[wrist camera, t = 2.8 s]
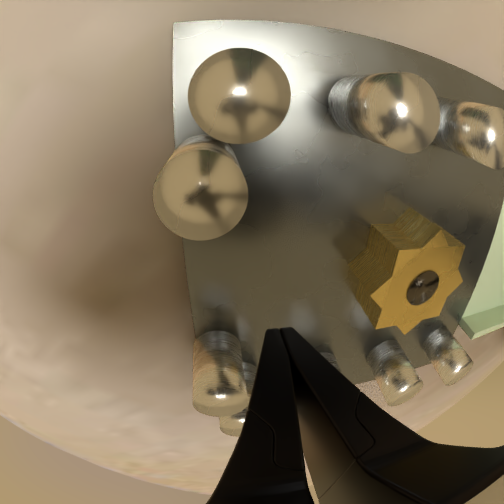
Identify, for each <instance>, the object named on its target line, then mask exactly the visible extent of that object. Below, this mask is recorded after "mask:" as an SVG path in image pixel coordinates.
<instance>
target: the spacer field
mask: <svg viewBox="0 0 504 504" xmlns="http://www.w3.org/2000/svg"><path fill="white" fill-rule="evenodd" d="M173 113H174V138H175V152H174V153H173V154H172V156H171V157H170V158H169V160H168V161H167V162H166V164H165V165H164V166H163V168H162V169H161V171H160V172H159V174H158V176H157V178H156V180H155V183H154V187H153V204H154V208H155V211H156V213H157V215H158V217H159V219H160V220H161V222H162V223H163V224H164V225H165V226H166V227H167V228H168V229H169V230H170V231H172V232H173V233H174V234H176V235H178V236H180V237H182V240H183V249H184V258H185V266H186V274H187V282H188V289H189V297H190V304H191V311H192V317H193V324H194V330H195V336H196V340H195V342H194V346H193V406H194V408H195V409H196V410H197V411H199V412H200V413H203V414H205V415H209V416H217V417H219V419H220V429H221V431H222V432H223V433H225V434H227V435H230V436H240V433H241V430H242V427H243V423H244V420H245V416H246V412H247V408H248V404H249V400H250V396H251V392H252V388H253V384H254V380H255V375H256V371H257V367H258V363H259V358H260V354H261V350H262V345H263V341H264V337H265V332H266V330H267V329H272V328H278V329H280V328H283V327H293V328H294V329H295V330H296V331H297V332H298V333H299V334H300V335H301V336H302V337H303V338H305V339H306V340H307V341H308V342H309V343H310V344H311V345H312V346H313V347H314V348H315V349H316V350H317V351H318V352H319V353H320V354H321V355H323V356H324V357H325V358H326V359H327V360H328V361H329V362H330V363H331V364H332V365H333V366H334V367H335V368H337V369H338V370H339V371H340V372H341V373H342V374H343V375H344V376H345V377H346V378H347V379H348V380H350V381H351V382H352V383H353V384H359V383H363V382H367V381H371V380H375V379H376V381H377V383H378V385H379V387H380V389H381V391H382V393H383V395H384V397H385V399H386V401H387V404H388V405H389V406H396V405H399V404H402V403H404V402H406V401H408V400H409V399H411V398H412V397H414V396H415V395H416V394H417V393H418V392H419V391H420V390H421V388H422V386H423V382H422V380H421V378H420V377H419V375H418V373H417V372H416V370H415V368H418V367H421V366H424V365H427V364H431V363H432V365H433V366H434V368H435V369H436V371H437V372H438V374H439V376H440V377H441V379H442V380H443V382H444V383H445V385H446V386H449V385H452V384H454V383H456V382H457V381H459V380H460V379H461V378H463V377H464V376H465V375H466V374H467V373H468V371H469V370H470V369H471V367H472V365H473V361H472V360H471V358H470V357H469V356H468V354H467V353H466V352H465V350H464V349H463V348H462V346H461V345H460V344H459V342H458V341H457V340H456V338H455V337H454V336H453V334H454V332H455V330H456V328H457V326H458V324H459V322H460V320H461V318H462V316H463V314H464V312H465V310H466V307H467V305H468V303H469V301H470V299H471V296H472V294H473V292H474V289H475V287H476V284H477V282H478V279H479V277H480V274H481V272H482V269H483V266H484V264H485V261H486V258H487V255H488V253H489V250H490V247H491V244H492V240H493V237H494V234H495V231H496V227H497V224H498V220H499V217H500V213H501V209H502V205H503V201H504V90H502V89H500V88H498V87H497V86H495V85H493V84H491V83H489V82H487V81H485V80H483V79H482V78H480V77H478V76H476V75H474V74H471V73H469V72H467V71H465V70H463V69H461V68H459V67H456V66H454V65H452V64H449V63H447V62H445V61H442V60H440V59H437V58H435V57H432V56H429V55H427V54H424V53H421V52H418V51H416V50H413V49H410V48H407V47H404V46H400V45H397V44H394V43H391V42H387V41H384V40H380V39H376V38H372V37H368V36H364V35H360V34H356V33H351V32H346V31H341V30H336V29H331V28H325V27H318V26H312V25H304V24H296V23H287V22H275V21H259V20H203V21H187V22H176V23H173ZM409 207H410V208H412V209H413V210H415V211H416V212H418V213H419V214H421V215H422V216H423V217H425V218H426V219H428V220H429V221H430V222H432V223H436V224H437V225H439V226H440V227H442V228H443V229H444V230H446V231H447V232H448V233H450V234H451V235H452V236H454V237H455V238H456V239H457V240H459V241H460V242H461V243H463V244H464V245H465V249H464V252H463V255H462V258H461V261H460V264H459V267H458V270H459V272H460V275H461V277H462V280H463V282H462V283H461V284H460V285H459V286H458V287H457V288H456V289H455V290H454V291H453V292H452V293H451V294H450V295H449V296H448V297H447V298H446V301H445V303H444V305H443V308H442V310H441V312H440V315H439V316H436V317H432V318H428V319H424V320H422V321H421V322H419V323H418V324H417V325H416V326H415V327H414V328H412V329H411V330H410V331H409V332H408V333H406V334H405V335H404V334H403V333H402V331H401V330H400V329H399V328H398V327H397V326H391V327H386V328H380V329H375V328H374V327H373V325H372V323H371V322H370V320H369V318H368V317H367V315H366V314H365V312H364V310H363V309H362V307H361V306H360V304H359V303H358V301H357V299H356V298H355V297H356V293H357V289H358V285H359V279H358V278H357V277H356V275H355V274H354V272H353V271H352V270H351V268H350V267H349V266H348V264H349V263H350V262H351V261H353V260H354V259H355V258H356V257H357V256H358V255H359V254H360V253H362V252H363V251H364V250H365V249H366V248H367V244H368V239H369V234H370V228H371V224H393V223H394V222H395V221H396V220H397V219H398V218H399V217H400V216H401V215H402V214H403V213H404V212H405V211H406V210H407V209H408V208H409Z"/></svg>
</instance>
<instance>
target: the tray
mask: <svg viewBox="0 0 504 504" xmlns="http://www.w3.org/2000/svg"><path fill="white" fill-rule="evenodd" d="M459 325H460V326H461V328H462V329H463V330H464V331H465V333H466V334H467V335H468V336H469V337H470V339H471V340H472V339H475V338H477V337H480V336H482V335H485V334H487V333H490V332H492V331H495V330H497V329H499V328H502V327H504V201H503V205H502V209H501V213H500V217H499V220H498V224H497V227H496V231H495V234H494V237H493V240H492V244H491V247H490V250H489V253H488V255H487V258H486V261H485V264H484V266H483V269H482V272H481V274H480V277H479V279H478V282H477V284H476V287H475V289H474V292H473V294H472V296H471V299H470V301H469V303H468V305H467V307H466V310H465V312H464V314H463V316H462V318H461V320H460V322H459Z"/></svg>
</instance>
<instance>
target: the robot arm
mask: <svg viewBox="0 0 504 504" xmlns="http://www.w3.org/2000/svg"><path fill="white" fill-rule="evenodd" d="M303 453H304V455H303ZM304 456H305V460H306V463H307V466H308V469H309V472H310V475H311V479H312V482H313V485H314V488H315V491H316V494H317V497H318V499H319V504H504V445H503V446H500V447H496V448H478V447H464V446H453V445H444V444H438V443H434V442H431V441H429V440H427V439H425V438H423V437H421V436H420V435H418V434H417V433H415V432H414V431H412V430H411V429H409V428H408V427H406V426H405V425H403V424H402V423H401V422H399V421H398V420H396V419H395V418H393V417H392V416H391V415H389V414H388V413H387V412H385V411H384V410H383V409H381V408H380V407H379V406H378V405H376V404H375V403H374V402H373V401H372V400H371V399H369V398H368V397H367V396H366V395H365V394H364V393H363V392H360V390H359V389H358V388H357V387H356V386H355V385H354V384H353V383H352V382H351V381H350V380H348V379H347V378H346V377H345V376H344V375H343V374H342V373H341V372H340V371H339V370H338V369H337V368H335V367H334V366H333V365H332V364H331V363H330V362H329V361H328V360H327V359H326V358H325V357H324V356H323V355H321V354H320V353H319V352H318V351H317V350H316V349H315V348H314V347H313V346H312V345H311V344H310V343H309V342H308V341H307V340H306V339H305V338H303V337H302V336H301V335H300V334H299V333H298V332H297V331H296V330H295V329H294V328H293V327H283V328H280V329H278V328H272V329H267V330H266V332H265V337H264V341H263V345H262V350H261V354H260V358H259V363H258V367H257V371H256V375H255V380H254V384H253V388H252V392H251V396H250V400H249V404H248V408H247V412H246V416H245V420H244V423H243V427H242V430H241V433H240V436H239V439H238V441H237V444H236V446H235V449H234V451H233V453H232V455H231V458H230V460H229V462H228V464H227V466H226V468H225V470H224V473H223V475H222V477H221V479H220V481H219V483H218V485H217V487H216V489H215V490H214V492H213V494H212V496H211V497H210V499H209V500H208V502H207V503H206V504H314V501H313V499H312V496H311V494H310V491H309V488H308V483H307V478H306V472H305V463H304Z"/></svg>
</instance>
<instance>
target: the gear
mask: <svg viewBox="0 0 504 504" xmlns="http://www.w3.org/2000/svg"><path fill="white" fill-rule="evenodd" d="M464 249H465V245H464V244H463V243H461V242H460V241H459V240H457V239H456V238H455V237H454V236H452V235H451V234H450V233H448V232H447V231H446V230H444V229H443V228H442V227H440V226H439V225H437V224H436V223H432V222H430V221H429V220H428V219H426V218H425V217H423V216H422V215H421V214H419V213H418V212H416V211H415V210H413V209H412V208H410V207H409V208H408V209H407V210H406V211H405V212H404V213H403V214H402V215H401V216H400V217H399V218H398V219H397V220H396V221H395V222H394V223H393V224H371V228H370V234H369V239H368V244H367V248H366V249H365V250H364V251H363V252H362V253H360V254H359V255H358V256H357V257H356V258H355V259H354V260H353V261H351V262H350V263H349V264H348V266H349V267H350V268H351V270H352V271H353V272H354V274H355V275H356V277H357V278H358V279H359V285H358V289H357V293H356V297H355V298H356V299H357V301H358V303H359V304H360V306H361V307H362V309H363V310H364V312H365V314H366V315H367V317H368V318H369V320H370V322H371V323H372V325H373V327H374V328H375V329H380V328H386V327H391V326H397V327H398V328H399V329H400V330H401V331H402V333H403V334H404V335H405V334H406V333H408V332H409V331H410V330H411V329H412V328H414V327H415V326H416V325H417V324H418V323H419V322H421V321H422V320H424V319H428V318H432V317H436V316H439V315H440V312H441V310H442V308H443V305H444V303H445V301H446V298H447V297H448V296H449V295H450V294H451V293H452V292H453V291H454V290H455V289H456V288H457V287H458V286H459V285H460V284H461V283H462V282H463V280H462V277H461V275H460V272H459V270H458V267H459V264H460V261H461V258H462V255H463V252H464Z"/></svg>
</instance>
